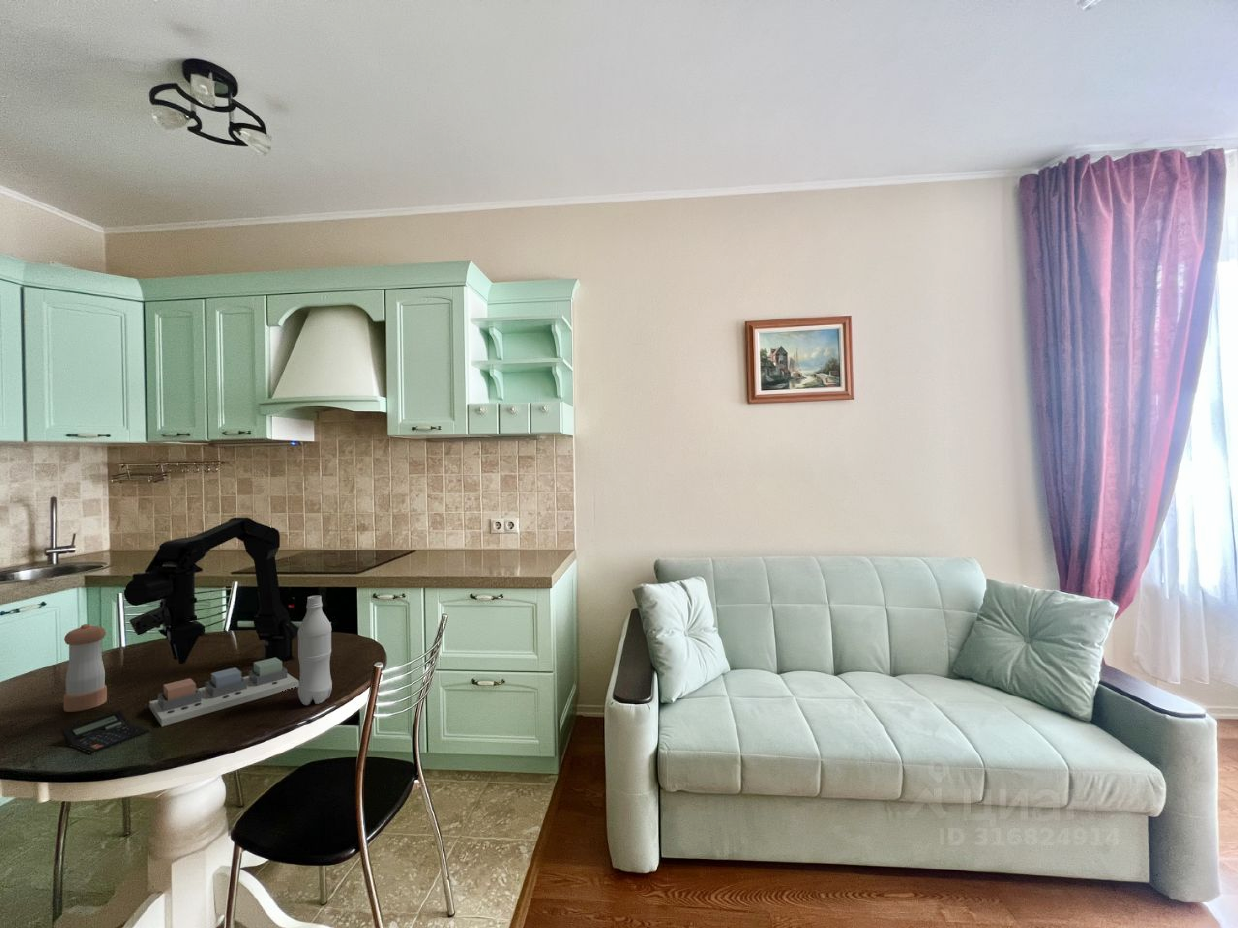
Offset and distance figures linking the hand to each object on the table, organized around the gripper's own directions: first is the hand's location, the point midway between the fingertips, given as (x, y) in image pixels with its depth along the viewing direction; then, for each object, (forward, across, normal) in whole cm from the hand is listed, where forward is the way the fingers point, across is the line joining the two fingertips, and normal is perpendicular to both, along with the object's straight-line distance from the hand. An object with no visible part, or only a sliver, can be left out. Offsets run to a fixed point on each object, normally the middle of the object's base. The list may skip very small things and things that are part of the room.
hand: (179, 661), depth 125 cm
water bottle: (+11, +20, +22) cm, 32 cm away
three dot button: (+8, 0, 0) cm, 8 cm away
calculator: (+12, +5, -13) cm, 18 cm away
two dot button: (+8, 0, +9) cm, 12 cm away
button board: (+11, +1, +9) cm, 14 cm away
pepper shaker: (+11, -20, -14) cm, 27 cm away
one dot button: (+8, 0, +18) cm, 20 cm away
